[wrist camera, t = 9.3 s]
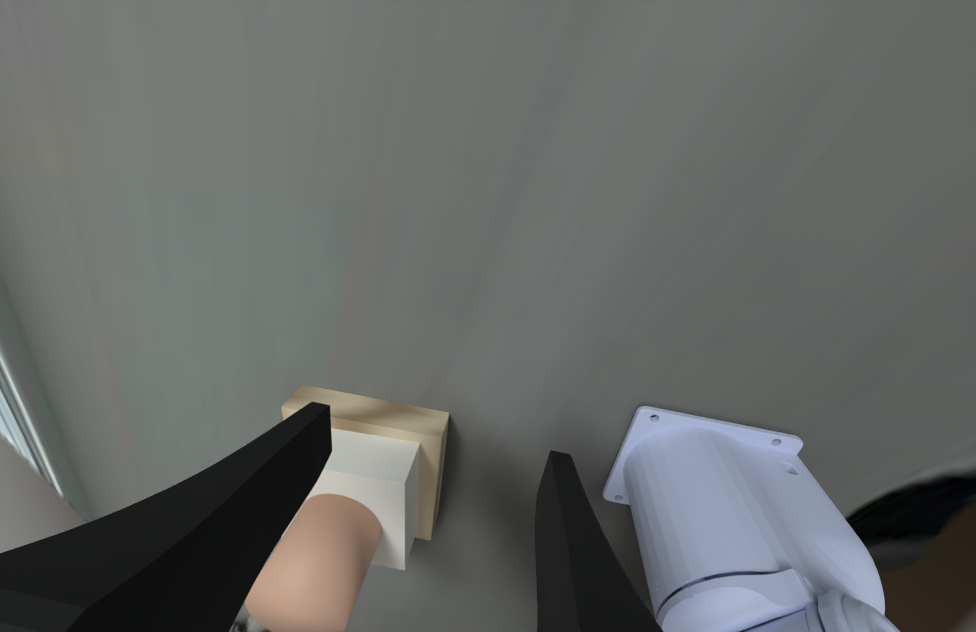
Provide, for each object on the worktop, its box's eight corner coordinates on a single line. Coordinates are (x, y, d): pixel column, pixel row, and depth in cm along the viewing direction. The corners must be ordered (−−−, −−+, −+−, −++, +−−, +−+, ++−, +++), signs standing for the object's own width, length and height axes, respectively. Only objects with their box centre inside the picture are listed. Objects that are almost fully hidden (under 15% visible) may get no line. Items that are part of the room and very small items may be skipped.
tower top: (420, 442, 24) (404, 483, 21) (417, 526, 28) (404, 570, 25) (294, 421, 25) (263, 458, 22) (308, 507, 28) (284, 547, 26)
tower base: (451, 405, 26) (441, 437, 24) (440, 504, 31) (430, 540, 28) (307, 378, 27) (281, 406, 24) (317, 479, 31) (296, 513, 29)
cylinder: (396, 523, 23) (361, 620, 19) (359, 559, 25) (319, 654, 21) (321, 480, 22) (264, 571, 18) (288, 522, 24) (231, 612, 20)
